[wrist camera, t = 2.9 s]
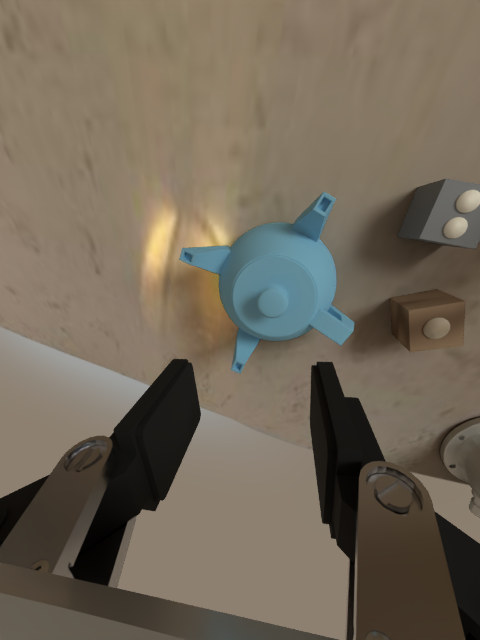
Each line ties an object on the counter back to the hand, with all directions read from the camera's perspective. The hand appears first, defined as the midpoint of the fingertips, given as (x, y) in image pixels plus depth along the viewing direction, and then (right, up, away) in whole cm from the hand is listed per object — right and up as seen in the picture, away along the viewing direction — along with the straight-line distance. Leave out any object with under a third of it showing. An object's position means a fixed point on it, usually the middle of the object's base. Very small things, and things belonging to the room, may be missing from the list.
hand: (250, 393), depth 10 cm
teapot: (+4, +8, +22) cm, 24 cm away
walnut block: (+21, +4, +20) cm, 29 cm away
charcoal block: (+20, +14, +16) cm, 30 cm away
